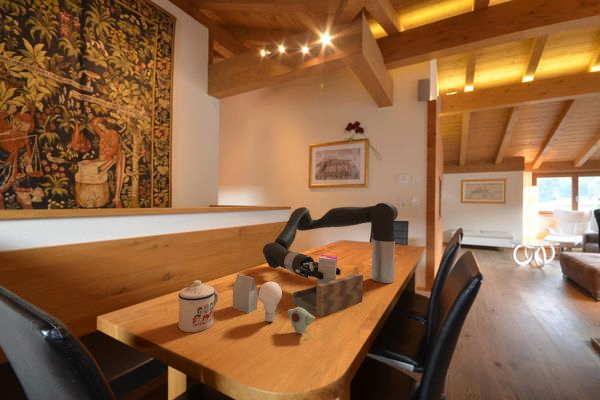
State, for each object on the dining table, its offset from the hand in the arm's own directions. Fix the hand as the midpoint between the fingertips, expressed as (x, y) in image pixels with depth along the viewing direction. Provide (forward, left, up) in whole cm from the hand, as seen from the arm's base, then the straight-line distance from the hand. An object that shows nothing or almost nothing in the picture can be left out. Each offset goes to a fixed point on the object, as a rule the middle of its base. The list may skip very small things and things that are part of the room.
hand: (331, 274), depth 88 cm
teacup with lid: (+38, -13, -10) cm, 41 cm away
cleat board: (0, -2, -10) cm, 10 cm away
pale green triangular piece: (+21, +8, -10) cm, 25 cm away
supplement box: (0, -2, -6) cm, 6 cm away
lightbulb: (+23, -2, -10) cm, 25 cm away
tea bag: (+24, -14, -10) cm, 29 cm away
